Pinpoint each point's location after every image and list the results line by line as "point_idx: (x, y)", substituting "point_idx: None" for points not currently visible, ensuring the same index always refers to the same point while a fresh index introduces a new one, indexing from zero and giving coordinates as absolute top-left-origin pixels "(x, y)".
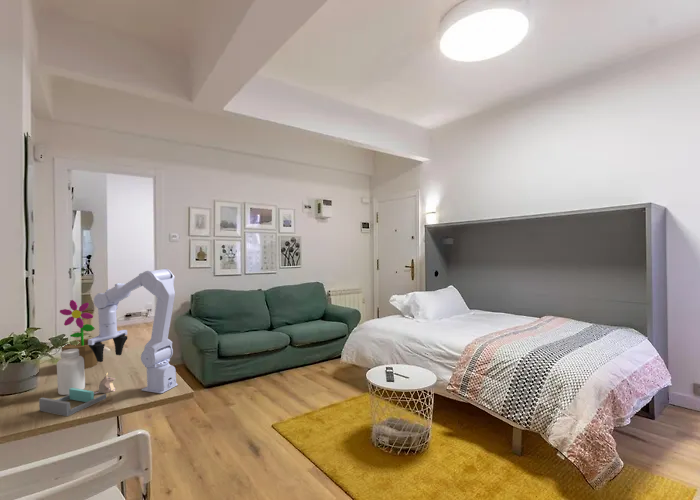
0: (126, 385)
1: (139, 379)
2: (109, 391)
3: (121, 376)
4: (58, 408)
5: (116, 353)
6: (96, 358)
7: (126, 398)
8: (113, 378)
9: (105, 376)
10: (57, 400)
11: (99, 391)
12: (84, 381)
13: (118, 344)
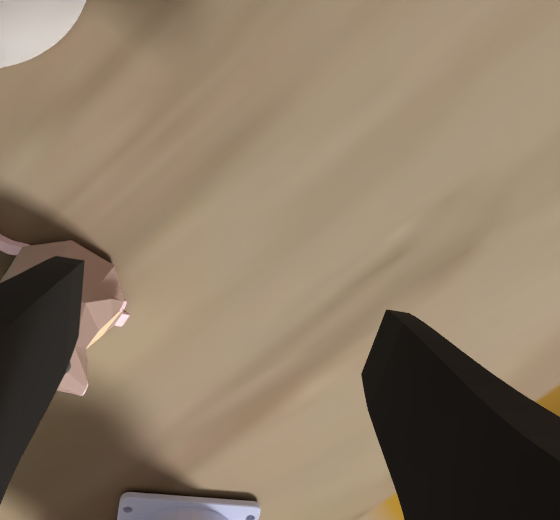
0: (190, 354)
1: (306, 367)
2: None
3: (373, 187)
4: None
5: (389, 333)
6: (24, 276)
7: None
8: (71, 392)
9: None
10: None
11: (1, 281)
12: (18, 59)
13: (446, 499)
